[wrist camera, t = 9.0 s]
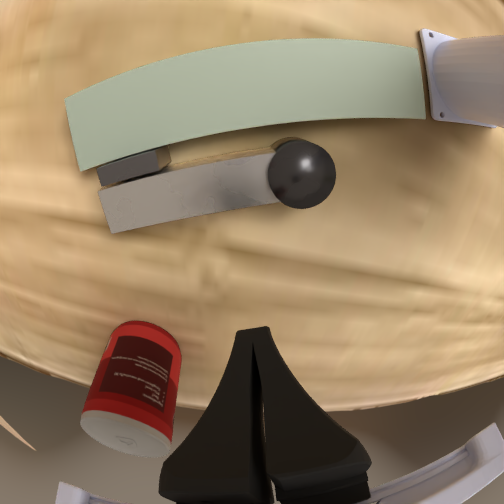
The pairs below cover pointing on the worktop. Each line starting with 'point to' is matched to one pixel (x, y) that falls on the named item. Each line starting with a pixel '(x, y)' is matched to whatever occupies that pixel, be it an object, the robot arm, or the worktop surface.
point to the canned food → (135, 391)
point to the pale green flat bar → (243, 93)
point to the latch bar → (222, 185)
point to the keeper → (134, 165)
